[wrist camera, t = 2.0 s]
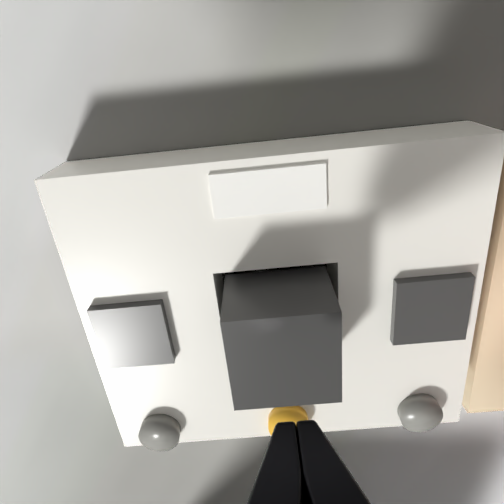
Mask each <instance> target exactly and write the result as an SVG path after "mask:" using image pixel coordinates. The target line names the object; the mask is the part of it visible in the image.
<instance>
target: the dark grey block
mask: <svg viewBox="0 0 504 504" xmlns="http://www.w3.org/2000/svg"><path fill="white" fill-rule="evenodd" d="M220 326H221V332H222V338H223V344H224V351H225V357H226V363H227V369H228V375H229V381H230V387H231V394H232V400H233V406H234V411H236V410H249V409H262V408H275V407H288V406H301V405H314V404H327V403H340V402H342V311H341V308H340V305H339V303H338V300H337V297H336V294H335V291H334V289H333V286H332V283H331V280H330V277H329V275H328V272H327V269H326V266H320V267H309V268H298V269H287V270H276V271H265V272H254V273H243V274H231V275H225V281H224V290H223V299H222V308H221V317H220Z"/></svg>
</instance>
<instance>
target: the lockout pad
mask: <svg viewBox="0 0 504 504" xmlns="http://www.w3.org/2000/svg"><path fill="white" fill-rule="evenodd" d="M462 405H463V406H464V408H465V410H466V411H467V413H477V412H490V411H503V410H504V159H503V165H502V171H501V177H500V183H499V188H498V194H497V200H496V206H495V212H494V218H493V224H492V230H491V236H490V241H489V247H488V253H487V259H486V265H485V271H484V277H483V283H482V289H481V294H480V300H479V306H478V312H477V318H476V324H475V330H474V336H473V342H472V347H471V353H470V359H469V365H468V371H467V377H466V383H465V389H464V395H463V400H462Z"/></svg>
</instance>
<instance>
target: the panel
mask: <svg viewBox="0 0 504 504" xmlns="http://www.w3.org/2000/svg"><path fill="white" fill-rule="evenodd" d="M503 159H504V131H502V130H499V129H496V128H492V127H489V126H486V125H483V124H479V123H476V122H473V121H469V120H467V121H458V122H448V123H438V124H428V125H418V126H409V127H399V128H389V129H379V130H370V131H360V132H350V133H340V134H331V135H321V136H311V137H301V138H291V139H282V140H272V141H262V142H252V143H243V144H233V145H223V146H213V147H204V148H194V149H184V150H174V151H165V152H155V153H145V154H135V155H125V156H116V157H106V158H96V159H86V160H77V161H67V162H64V163H62V164H60V165H59V166H57V167H55V168H54V169H52V170H50V171H48V172H47V173H45V174H43V175H42V176H40V177H38V178H37V179H35V180H34V182H35V185H36V188H37V191H38V194H39V197H40V200H41V203H42V206H43V209H44V211H45V214H46V217H47V220H48V223H49V226H50V229H51V232H52V235H53V238H54V241H55V244H56V247H57V250H58V252H59V255H60V258H61V261H62V264H63V267H64V270H65V273H66V276H67V279H68V282H69V285H70V288H71V291H72V293H73V296H74V299H75V302H76V305H77V308H78V311H79V314H80V317H81V320H82V323H83V326H84V329H85V332H86V334H87V337H88V340H89V343H90V346H91V349H92V352H93V355H94V358H95V361H96V364H97V367H98V370H99V373H100V375H101V378H102V381H103V384H104V387H105V390H106V393H107V396H108V399H109V402H110V405H111V408H112V411H113V414H114V416H115V419H116V422H117V425H118V428H119V431H120V434H121V437H122V440H123V443H124V446H125V447H127V446H140V445H143V446H145V447H146V448H148V449H150V450H153V451H168V450H171V449H173V448H174V447H175V446H176V445H177V444H178V443H181V442H194V441H207V440H221V439H234V438H248V437H261V436H272V433H273V430H274V427H275V425H276V424H277V423H278V422H289V421H293V422H295V424H296V423H297V422H298V421H302V420H314V421H316V422H317V424H318V425H319V427H320V428H321V430H322V431H323V432H328V431H342V430H355V429H369V428H382V427H396V426H403V427H404V428H405V429H407V430H409V431H411V432H426V431H429V430H431V429H433V428H435V427H436V426H438V425H439V424H440V423H449V422H459V418H460V412H461V406H462V400H463V395H464V389H465V383H466V377H467V371H468V365H469V359H470V353H471V347H472V342H473V336H474V330H475V324H476V318H477V312H478V306H479V300H480V294H481V289H482V283H483V277H484V271H485V265H486V259H487V253H488V247H489V241H490V236H491V230H492V224H493V218H494V212H495V206H496V200H497V194H498V188H499V183H500V177H501V171H502V165H503ZM326 263H327V272H328V275H329V277H330V280H331V283H332V286H333V289H334V291H335V294H336V297H337V300H338V303H339V305H340V308H341V311H342V402H340V403H327V404H314V405H301V406H288V407H275V408H262V409H249V410H236V411H234V406H233V400H232V394H231V387H230V381H229V375H228V369H227V363H226V357H225V351H224V344H223V338H222V332H221V326H220V317H221V308H222V299H223V290H224V284H223V277H222V273H226V272H237V271H248V270H259V269H270V268H281V267H293V266H304V265H315V264H326Z"/></svg>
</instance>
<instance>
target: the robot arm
mask: <svg viewBox="0 0 504 504" xmlns="http://www.w3.org/2000/svg"><path fill="white" fill-rule="evenodd" d="M247 504H371V503H370V502H369V500H368V499H367V497H366V496H365V494H364V493H363V491H362V490H361V488H360V487H359V485H358V484H357V482H356V481H355V479H354V478H353V476H352V475H351V473H350V472H349V470H348V469H347V467H346V466H345V464H344V463H343V461H342V460H341V458H340V457H339V455H338V454H337V452H336V451H335V449H334V448H333V446H332V445H331V443H330V442H329V440H328V439H327V437H326V436H325V434H324V433H323V431H322V430H321V428H320V427H319V425H318V424H317V422H316V421H314V420H302V421H298V422H297V423H296V424H295V422H293V421H289V422H278V423H277V424H276V425H275V427H274V430H273V433H272V436H271V439H270V441H269V444H268V447H267V450H266V452H265V455H264V458H263V461H262V464H261V466H260V469H259V472H258V475H257V477H256V480H255V483H254V486H253V489H252V491H251V494H250V497H249V500H248V502H247Z"/></svg>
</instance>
